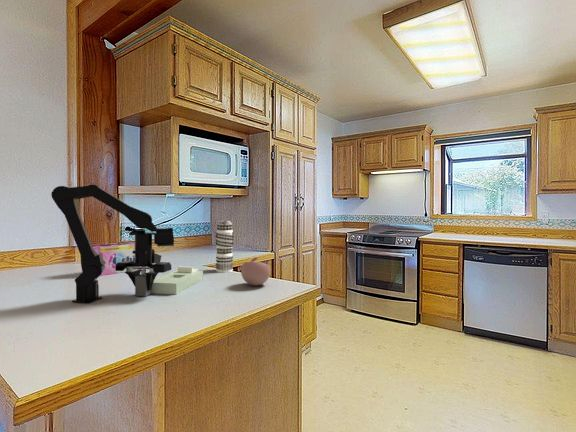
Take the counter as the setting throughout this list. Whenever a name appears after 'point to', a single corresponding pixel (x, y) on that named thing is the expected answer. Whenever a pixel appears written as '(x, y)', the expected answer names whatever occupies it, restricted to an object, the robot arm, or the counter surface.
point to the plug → (141, 284)
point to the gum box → (115, 255)
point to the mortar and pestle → (255, 272)
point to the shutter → (186, 269)
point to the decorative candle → (224, 246)
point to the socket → (176, 282)
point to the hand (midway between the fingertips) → (143, 290)
